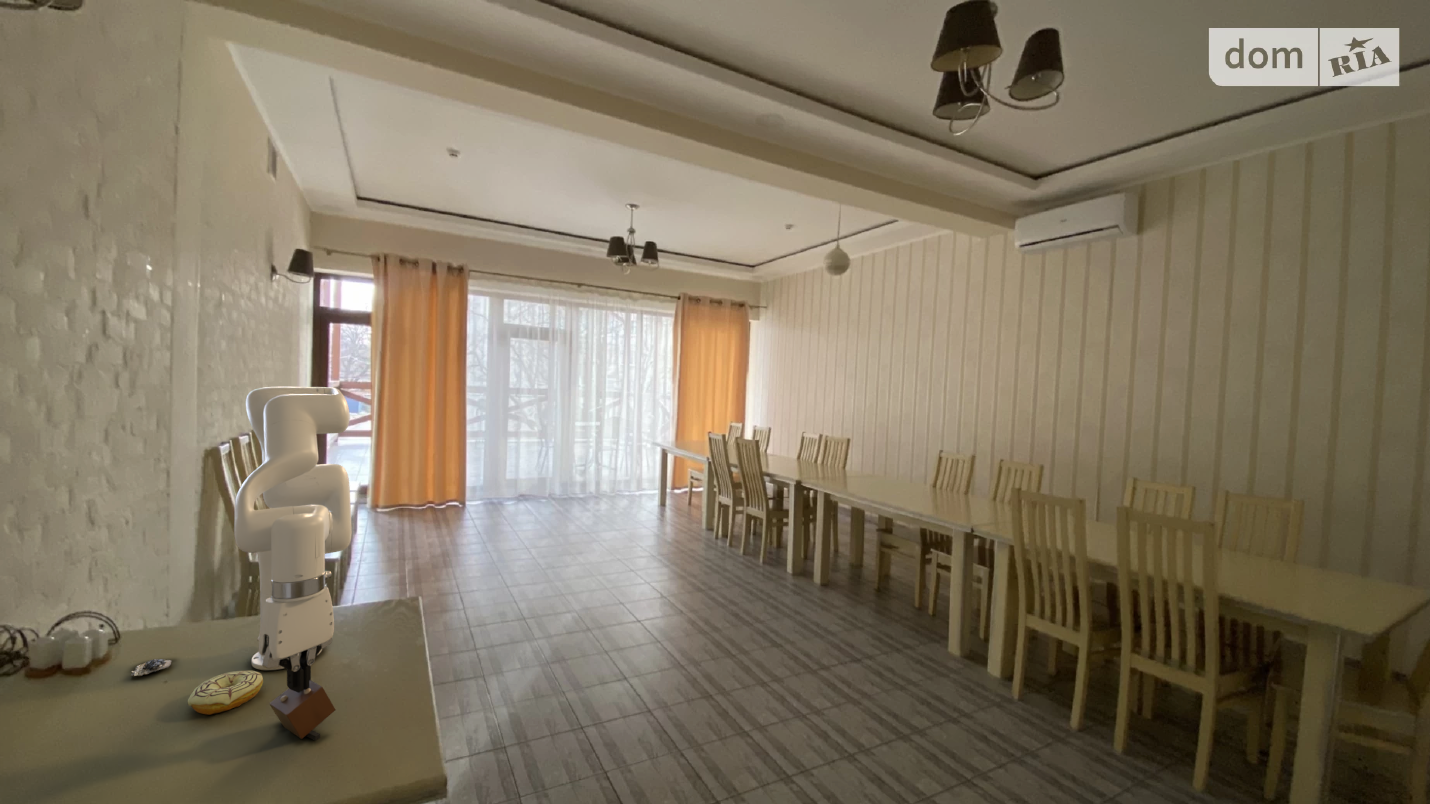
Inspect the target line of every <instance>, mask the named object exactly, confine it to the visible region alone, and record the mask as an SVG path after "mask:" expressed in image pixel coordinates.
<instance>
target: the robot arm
mask: <svg viewBox="0 0 1430 804" xmlns="http://www.w3.org/2000/svg"><path fill="white" fill-rule="evenodd" d="M245 408H246V409H245V410H246V415H247V418H248V421H249V424H250V426H251V429H252V431H253V432H254V434H255V436H256V438H257V440H258V442H259V446H260V449H261V465H259V466H258V467H257V468H255V469H254V470H253V471H252V472H251V473H250V474H249V475H248V476H247V477H246V479H244V481H243V482H242V484H241V485H240V487H239V489H238V491H237V493H236V497H235V500H234V515H233V516H234V517H233V518H234V524H233V525H234V526H233V531H234V533H233V535H234V542H235V544H236V547H237V548H238V549H239V550H240V551H241V552H243V553H248V554H256V556H257V562H258V568H259V569H258V570H259V592H260V593H259V606H260V607H259V611H260V612H259V616H260V617H259V620H260V624H259V635H258V637H257V639H256V641H257V642H258V651H256V652H255V654H254V655H252V657H251V666H252V668H254V669H256V670H259V671H260V670H261V671H277V670H283V669H286V685H287V689H291V690H293V691H296V692H298V693H299V692H302V691H303V690H304V689H305V690H306V689H308V688H309V681H310V680H311V681H312V665H314V663H315V662H316V661H315V660H316V657H317V656H319V655H320V654H321V653H322V651H323V649H325V648H327V647H329V646H330V645H332V644H333V636H334V631H335V619H334V618H335V617H334V616H335V615H334V607H333V601H332V597H331V593H330V590H329V587H328V586H327V585H326V582H327V580H328V579H331V578H332V576H333V575H332V574H333V573H332V572H331V571H330V570H326V554H332V553H338V552H341V551H344V550H346V549H348V547H349V546H350V545H351V542H352V535H353V534H352V530H353V528H352V510H351V509H352V507H351V505H352V504H351V485H350V478H349V474H348V472H347V470H346V468H345V467H344V466H343V465H340V464H337V463H321V464H318V463H319V449H318V448H319V447H318V436H317V435H327V434H330V435H331V434H341V433H344V432H345V431H347V429H348V428H349V424H350V419H351V418H350V415H351V414H350V408H349V403H348V401H347V399H346V397H345V395H344V394H343V393H342V391H341V390H340V389H339V388H337V387H329V386H327V387H325V386H267V387H259V388H256V389H253V390H251V391H249V393H248V394H247V396H246V399H245ZM261 495H262V497H263V502H264V504H265V505H266V507H267V508H263V509H262V508H261V509H255V502H256V500H257V499H258V498H259V497H260V496H261Z"/></svg>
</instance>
